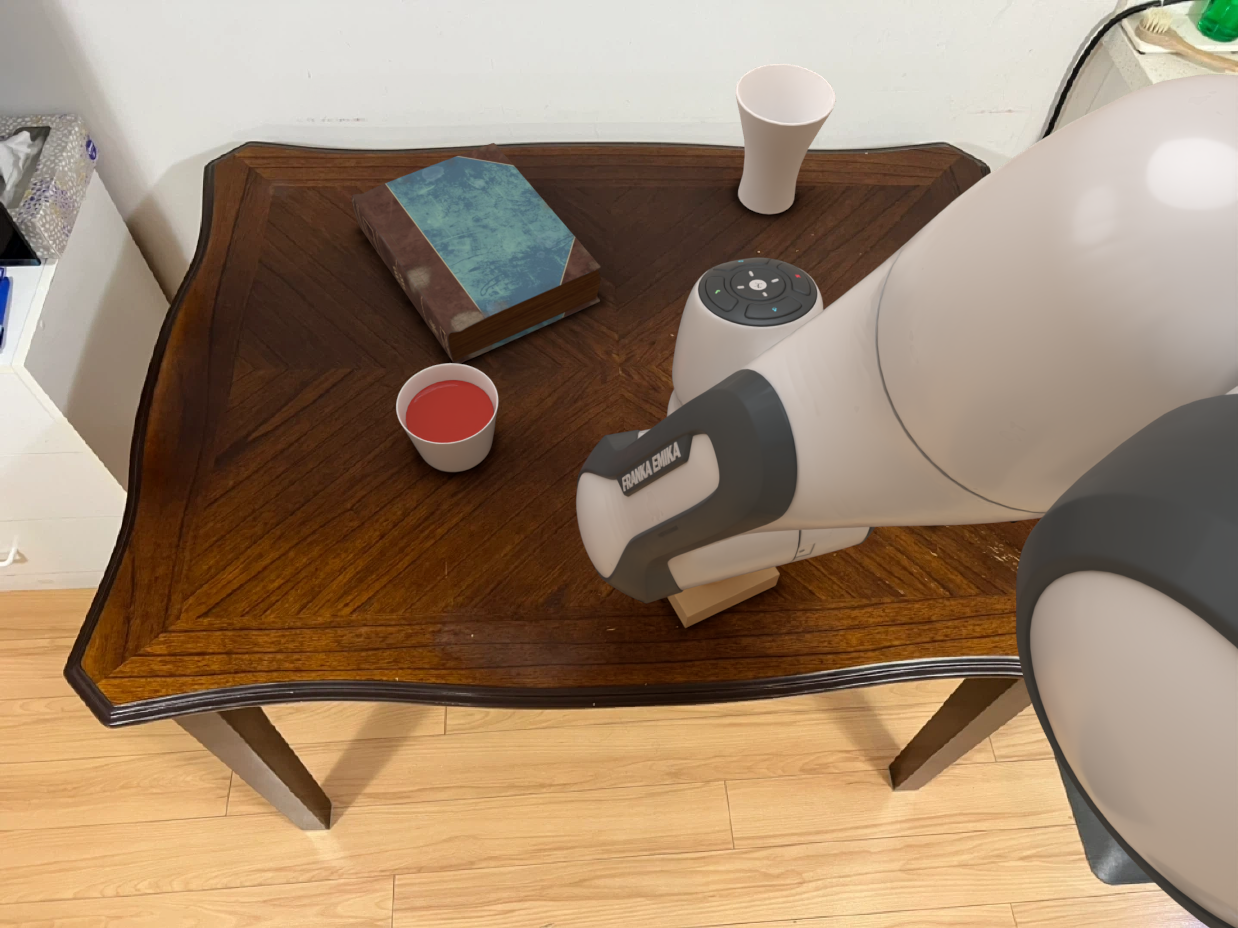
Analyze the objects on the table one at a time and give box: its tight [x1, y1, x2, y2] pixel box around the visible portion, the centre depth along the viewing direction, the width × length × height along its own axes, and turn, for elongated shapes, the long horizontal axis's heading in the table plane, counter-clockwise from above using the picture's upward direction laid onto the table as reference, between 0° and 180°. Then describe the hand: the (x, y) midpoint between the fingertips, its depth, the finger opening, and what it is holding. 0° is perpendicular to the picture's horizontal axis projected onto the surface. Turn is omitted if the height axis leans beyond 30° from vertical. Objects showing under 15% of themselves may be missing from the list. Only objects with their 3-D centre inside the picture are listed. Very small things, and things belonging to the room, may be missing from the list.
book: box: [350, 142, 602, 364], centre depth 101 cm, size 23×18×5 cm
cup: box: [735, 63, 837, 215], centre depth 104 cm, size 10×10×14 cm
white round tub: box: [395, 362, 499, 473], centre depth 87 cm, size 9×9×6 cm
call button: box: [666, 566, 781, 629], centre depth 82 cm, size 10×9×4 cm
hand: (705, 535), depth 80 cm, fingers closed, pressing on button
